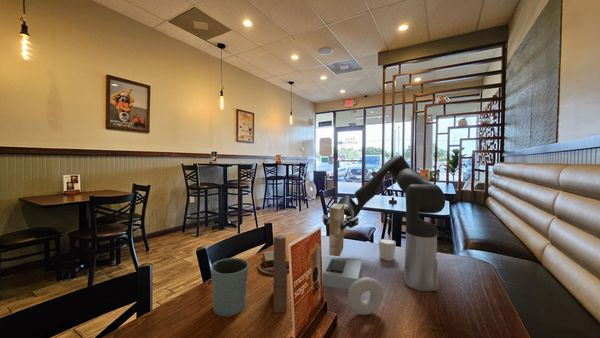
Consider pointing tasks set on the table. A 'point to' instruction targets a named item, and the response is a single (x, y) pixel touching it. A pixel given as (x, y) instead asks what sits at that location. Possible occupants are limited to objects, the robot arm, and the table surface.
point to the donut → (372, 301)
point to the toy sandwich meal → (269, 262)
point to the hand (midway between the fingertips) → (335, 226)
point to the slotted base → (348, 267)
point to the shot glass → (387, 249)
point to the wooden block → (280, 274)
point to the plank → (336, 229)
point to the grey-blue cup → (229, 286)
